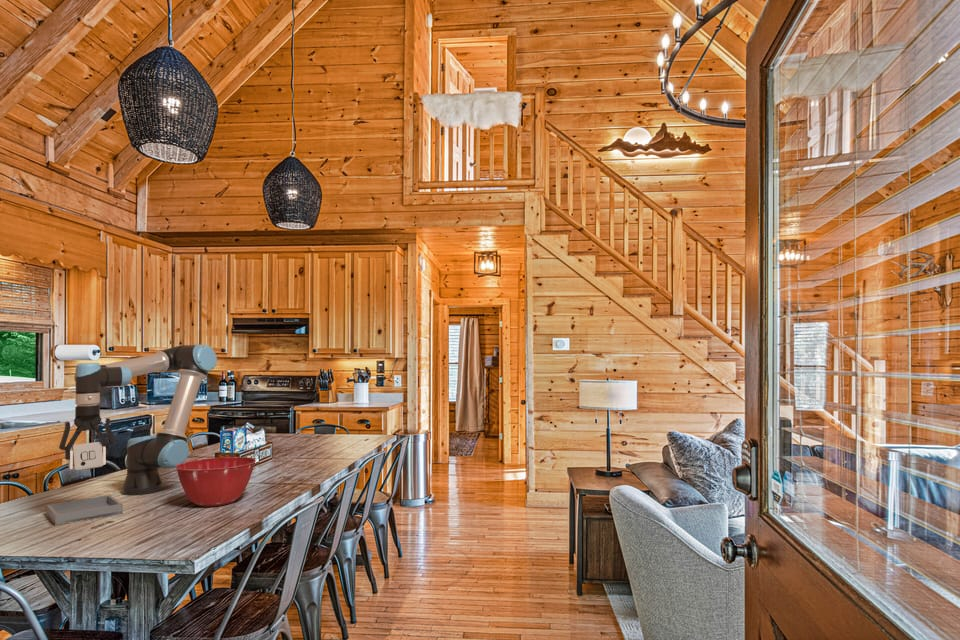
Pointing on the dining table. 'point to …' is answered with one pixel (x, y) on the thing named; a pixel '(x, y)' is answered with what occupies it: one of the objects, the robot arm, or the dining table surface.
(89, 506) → the parts tray
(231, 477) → the mixing bowl
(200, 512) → the dining table surface
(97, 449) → the electrical switch
